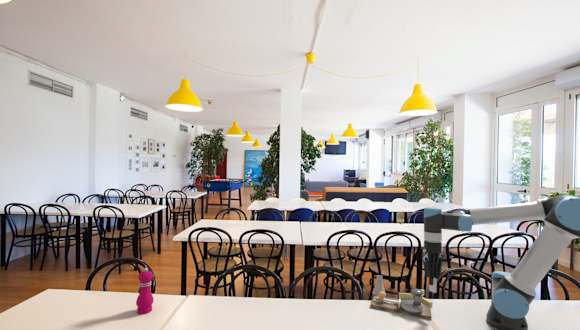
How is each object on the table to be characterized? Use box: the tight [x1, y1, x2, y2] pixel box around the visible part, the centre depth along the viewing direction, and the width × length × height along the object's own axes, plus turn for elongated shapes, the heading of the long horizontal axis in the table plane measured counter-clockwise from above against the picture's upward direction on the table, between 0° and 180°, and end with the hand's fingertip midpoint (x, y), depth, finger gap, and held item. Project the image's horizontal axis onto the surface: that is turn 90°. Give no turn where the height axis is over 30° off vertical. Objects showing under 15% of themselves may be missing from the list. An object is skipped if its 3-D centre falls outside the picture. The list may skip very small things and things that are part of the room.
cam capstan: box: [398, 288, 433, 314], centre depth 142 cm, size 16×14×8 cm
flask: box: [371, 274, 387, 297], centre depth 161 cm, size 7×7×10 cm
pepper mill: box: [135, 267, 154, 315], centre depth 137 cm, size 7×7×20 cm
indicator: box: [378, 291, 402, 308], centre depth 148 cm, size 11×8×5 cm
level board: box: [370, 294, 432, 321], centre depth 146 cm, size 27×12×2 cm, turn 67°
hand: (432, 291), depth 138 cm, fingers closed
